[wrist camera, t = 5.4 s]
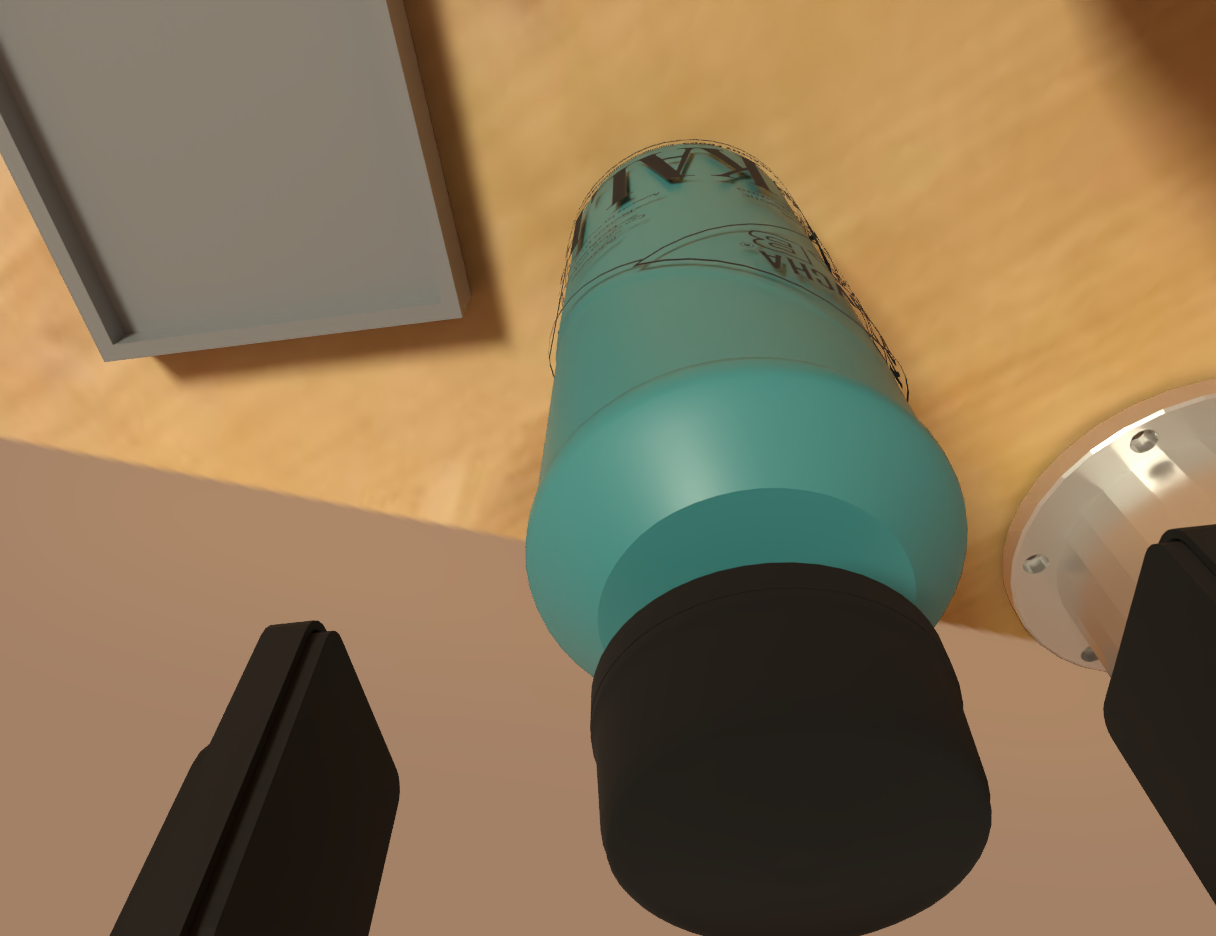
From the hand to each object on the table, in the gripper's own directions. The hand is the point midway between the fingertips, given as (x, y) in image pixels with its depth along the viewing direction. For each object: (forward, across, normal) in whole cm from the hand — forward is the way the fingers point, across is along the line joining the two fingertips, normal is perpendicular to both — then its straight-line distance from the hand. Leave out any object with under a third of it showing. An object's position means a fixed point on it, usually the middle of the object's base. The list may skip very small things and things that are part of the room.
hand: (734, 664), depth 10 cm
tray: (+18, +11, -4) cm, 21 cm away
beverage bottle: (+18, -1, 0) cm, 18 cm away
